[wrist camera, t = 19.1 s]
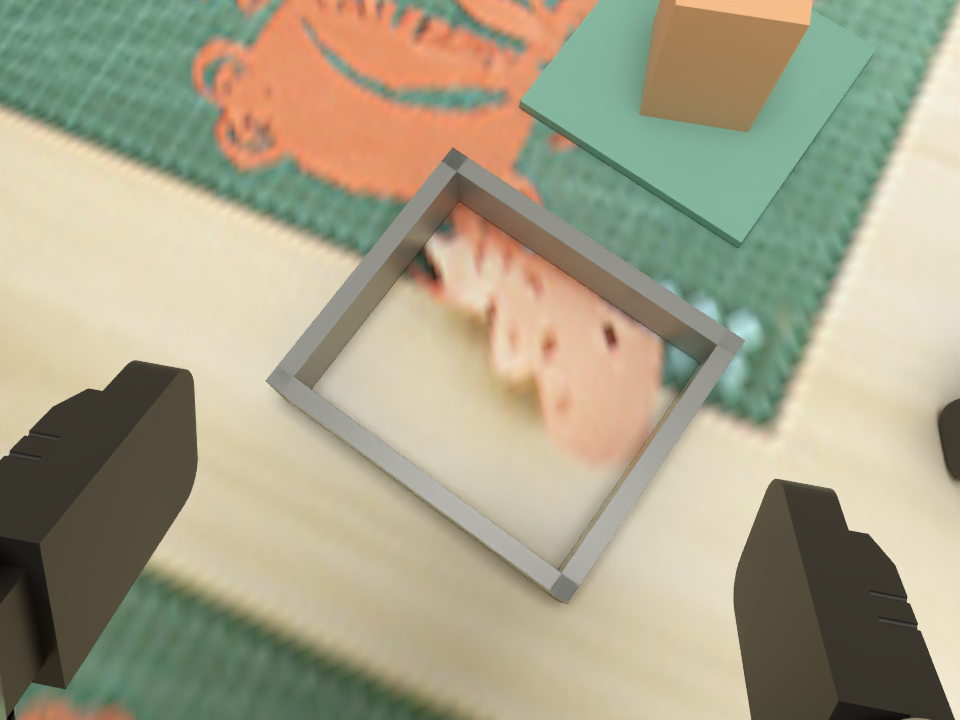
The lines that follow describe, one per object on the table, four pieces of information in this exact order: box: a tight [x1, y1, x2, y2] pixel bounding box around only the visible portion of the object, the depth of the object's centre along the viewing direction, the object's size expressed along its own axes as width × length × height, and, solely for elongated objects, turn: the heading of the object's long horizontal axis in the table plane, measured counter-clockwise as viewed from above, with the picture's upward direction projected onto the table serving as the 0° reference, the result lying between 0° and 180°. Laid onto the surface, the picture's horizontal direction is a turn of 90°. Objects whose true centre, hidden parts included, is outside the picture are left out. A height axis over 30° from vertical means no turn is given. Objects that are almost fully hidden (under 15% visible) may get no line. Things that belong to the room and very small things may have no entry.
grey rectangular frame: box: [266, 148, 745, 604], centre depth 37 cm, size 15×13×3 cm
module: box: [639, 0, 812, 132], centre depth 37 cm, size 5×5×8 cm
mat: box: [520, 0, 877, 248], centre depth 41 cm, size 12×12×1 cm
